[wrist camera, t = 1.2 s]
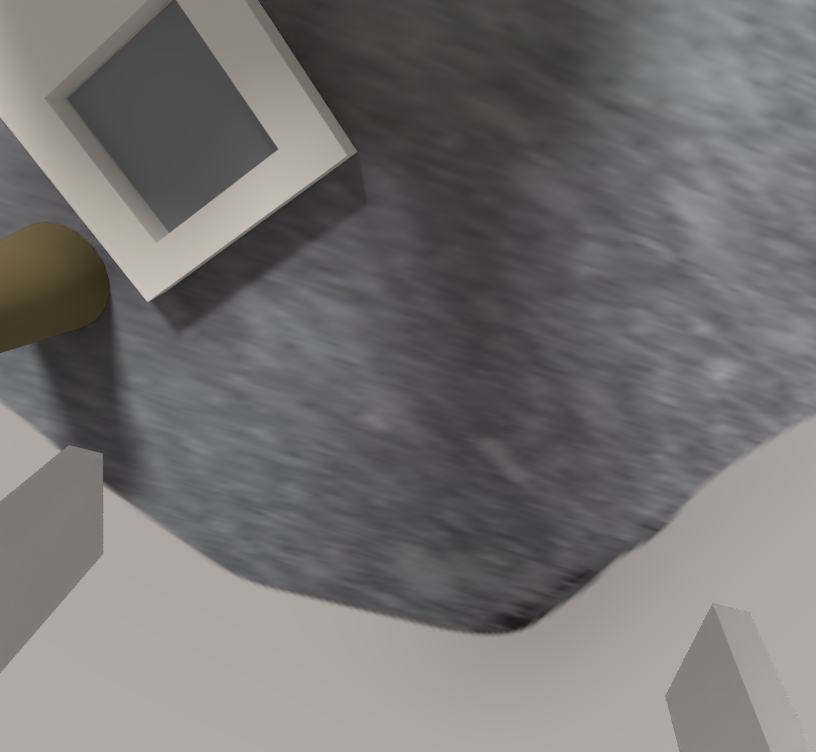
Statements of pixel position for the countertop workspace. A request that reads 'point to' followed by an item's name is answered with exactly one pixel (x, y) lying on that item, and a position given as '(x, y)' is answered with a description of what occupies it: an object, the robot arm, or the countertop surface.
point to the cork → (48, 284)
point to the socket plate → (164, 122)
